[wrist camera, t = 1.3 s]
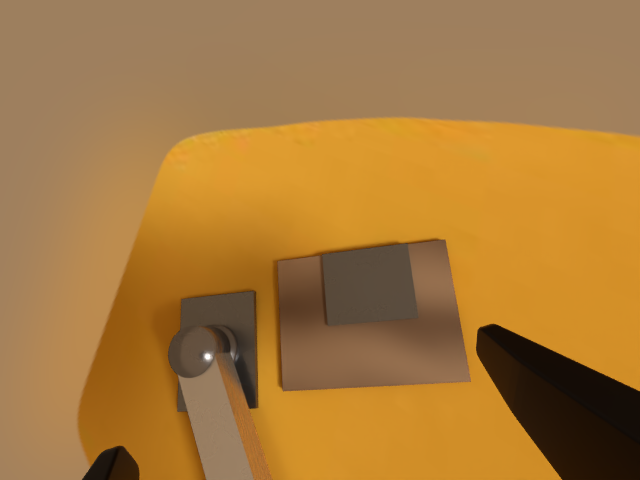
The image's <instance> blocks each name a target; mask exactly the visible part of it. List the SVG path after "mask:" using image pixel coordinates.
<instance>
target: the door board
mask: <svg viewBox="0 0 640 480" xmlns="http://www.w3.org/2000/svg"><path fill="white" fill-rule="evenodd" d="M408 250H409V256H410V263H411V270H412V277H413V283H414V290H415V297H416V303H417V310H418V317H419V318H413V319H402V320H390V321H379V322H368V323H356V324H345V325H334V326H328V322H327V309H326V297H325V284H324V271H323V258H322V256H314V257H306V258H299V259H291V260H283V261H278V286H279V310H280V335H281V360H282V384H283V391H298V390H317V389H336V388H356V387H375V386H395V385H414V384H433V383H453V382H471V379H470V374H469V368H468V363H467V357H466V352H465V346H464V341H463V335H462V330H461V324H460V319H459V313H458V307H457V302H456V296H455V291H454V285H453V280H452V274H451V269H450V263H449V258H448V252H447V247H446V241H445V240H437V241H430V242H422V243H414V244H408Z"/></svg>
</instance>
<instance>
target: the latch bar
mask: <svg viewBox="0 0 640 480" xmlns="http://www.w3.org/2000/svg"><path fill="white" fill-rule="evenodd" d="M230 352H231V346H230V341H229V338H228V337H227V335H226V334H225V333H224V332H223V331H222V330H221V329H219V328H215V327H203V326H188V327H185V328H183V329H181V330H180V331H179V332H178V333H177V334H176V335H175V336H174V337H173V339H172V341H171V343H170V346H169V351H168V358H169V363H170V366H171V368H172V369H173V371H174V372H175V373H176V374H177V375H178V378H179V382H180V385H181V389H182V393H183V396H184V400H185V404H186V407H187V411H188V415H189V418H190V422H191V426H192V429H193V433H194V437H195V440H196V444H197V448H198V451H199V455H200V459H201V462H202V466H203V470H204V473H205V477H206V480H272V477H271V474H270V471H269V468H268V465H267V462H266V459H265V456H264V453H263V450H262V447H261V444H260V440H259V437H258V434H257V431H256V428H255V425H254V422H253V419H252V416H251V413H250V410H249V407H248V404H247V401H246V398H245V395H244V392H243V389H242V386H241V383H240V380H239V377H238V374H237V371H236V368H235V365H234V362H233V359H232V356H231V353H230Z"/></svg>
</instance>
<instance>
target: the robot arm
mask: <svg viewBox="0 0 640 480" xmlns="http://www.w3.org/2000/svg"><path fill="white" fill-rule="evenodd" d="M476 351H477V355H478V357H479V359H480V361H481V362H482V364H483V366H484V367H485V369H486V371H487V372H488V374H489V376H490V377H491V379H492V381H493V382H494V384H495V386H496V387H497V389H498V391H499V392H500V394H501V395H502V397H503V399H504V400H505V402H506V404H507V405H508V407H509V408H510V410H511V411H512V413H513V414H514V416H515V417H516V418H517V420H518V421H519V423H520V424H521V425H522V427H523V428H524V429H525V431H526V432H527V433H528V435H529V436H530V437H531V439H532V440H533V441H534V443H535V444H536V445H537V447H538V448H539V449H540V451H541V452H542V453H543V455H544V456H545V457H546V459H547V460H548V461H549V463H550V464H551V465H552V467H553V468H554V469H555V471H556V472H557V473H558V475H559V476H560V477H561V479H562V480H640V391H638V390H636V389H634V388H632V387H630V386H627V385H625V384H623V383H621V382H619V381H617V380H615V379H612V378H610V377H608V376H606V375H604V374H602V373H600V372H597V371H595V370H593V369H591V368H589V367H587V366H585V365H582V364H580V363H578V362H576V361H574V360H572V359H570V358H567V357H565V356H563V355H561V354H559V353H557V352H554V351H552V350H550V349H548V348H546V347H544V346H542V345H539V344H537V343H535V342H533V341H531V340H529V339H527V338H524V337H522V336H520V335H518V334H516V333H514V332H512V331H509V330H507V329H505V328H503V327H501V326H499V325H496V324H489V325H486V326H483V327H480V328H479V329H478V332H477V344H476ZM82 480H139V467H138V465H137V463H136V461H135V460H134V459H133V458H132V456H131V455H130V454H129V452H128V451H127V450H126V449H125V448H124V447H123V446H117V447H114V448H111V449H108V450H105V451H103V452H102V453H101V454H100V455H99V456H98V457H97V459H96V460H95V462H94V463H93V465H92V466H91V468H90V469H89V471H88V472H87V473H86V475H85V476H84V478H83V479H82Z"/></svg>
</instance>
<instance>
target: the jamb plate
mask: <svg viewBox="0 0 640 480" xmlns="http://www.w3.org/2000/svg"><path fill="white" fill-rule="evenodd" d="M188 326H203V327H215V328H219V329H221V330H222V331H223V332H224V333H225V334H226V335H227V337H228V338H229V341H230V346H231V352H230V353H231V356H232V359H233V362H234V365H235V368H236V371H237V374H238V377H239V380H240V383H241V386H242V389H243V392H244V395H245V398H246V401H247V404H248V407H249V409H253V408H258V372H257V327H256V292H255V291H249V292H240V293H232V294H223V295H214V296H205V297H196V298H188V299H182V301H181V328H180V330H181V329H183V328H185V327H188ZM181 411H187V407H186V404H185V400H184V396H183V393H182V389H181V385H180V382H179V383H178V410H177V412H181Z"/></svg>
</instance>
